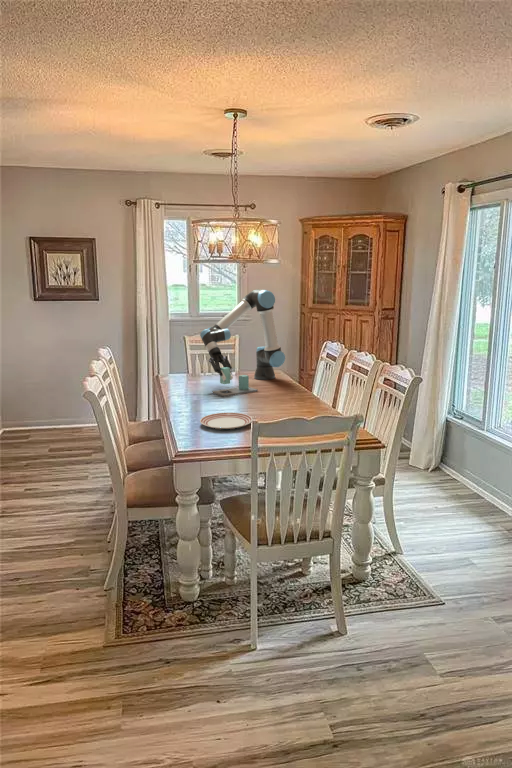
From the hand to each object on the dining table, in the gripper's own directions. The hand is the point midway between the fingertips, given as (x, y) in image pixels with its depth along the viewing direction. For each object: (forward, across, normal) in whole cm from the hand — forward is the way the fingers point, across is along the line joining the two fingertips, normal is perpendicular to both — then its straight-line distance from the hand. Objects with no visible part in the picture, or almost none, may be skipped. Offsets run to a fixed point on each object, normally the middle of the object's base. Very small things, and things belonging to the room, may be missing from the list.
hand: (228, 379), depth 375 cm
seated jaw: (+5, -15, -10) cm, 18 cm away
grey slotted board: (+5, -8, -10) cm, 13 cm away
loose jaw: (0, 0, -5) cm, 5 cm away
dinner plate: (+48, +40, +32) cm, 70 cm away
